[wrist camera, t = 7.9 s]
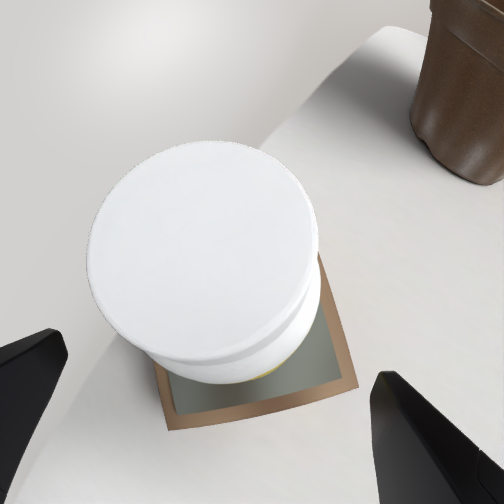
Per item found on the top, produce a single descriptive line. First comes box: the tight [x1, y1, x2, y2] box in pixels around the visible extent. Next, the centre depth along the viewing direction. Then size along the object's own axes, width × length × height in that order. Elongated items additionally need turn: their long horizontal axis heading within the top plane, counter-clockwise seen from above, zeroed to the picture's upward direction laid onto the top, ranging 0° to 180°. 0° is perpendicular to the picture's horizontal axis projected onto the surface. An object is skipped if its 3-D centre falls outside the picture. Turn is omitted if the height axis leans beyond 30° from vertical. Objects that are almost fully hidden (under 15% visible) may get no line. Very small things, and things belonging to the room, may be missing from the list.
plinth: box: [153, 252, 359, 431], centre depth 17 cm, size 10×10×3 cm
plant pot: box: [410, 0, 504, 185], centre depth 17 cm, size 16×16×16 cm
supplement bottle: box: [86, 141, 321, 384], centre depth 10 cm, size 6×6×10 cm
